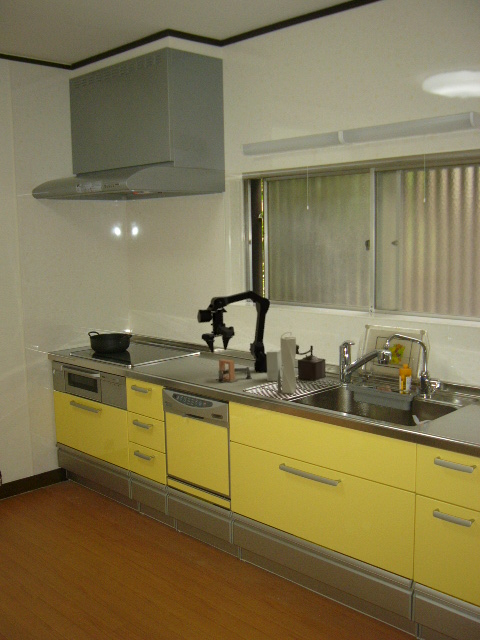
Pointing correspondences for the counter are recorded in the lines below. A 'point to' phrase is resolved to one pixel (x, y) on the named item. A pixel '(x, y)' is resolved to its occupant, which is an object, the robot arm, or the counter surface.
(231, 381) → the pad
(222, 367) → the orange rectangular frame
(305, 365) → the brown coffee grinder
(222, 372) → the gray arch
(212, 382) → the counter surface
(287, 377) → the skyscraper
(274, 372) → the skincare box
